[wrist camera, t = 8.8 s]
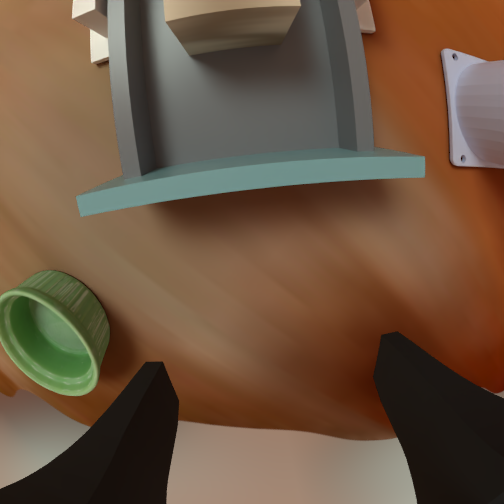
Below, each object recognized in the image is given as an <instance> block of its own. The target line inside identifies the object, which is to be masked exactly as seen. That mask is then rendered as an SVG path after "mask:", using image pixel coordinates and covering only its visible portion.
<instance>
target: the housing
mask: <svg viewBox="0 0 504 504" xmlns="http://www.w3.org/2000/svg"><path fill="white" fill-rule="evenodd" d="M354 2H355V6H356V11H357V15H358V20H359V25H360V30H361V32H362V33H371V34H372V33H373V32H375V31H376V30H375V25H374V20H373V16H372V11H371V7H370V3H369V0H354ZM72 19H74V20H75V21H77V22H79V23H81V24H83V25H84V26H86V27H88V28H90V42H91V63H93V64H98V63H101V62H104V61H107V60H109V51H108V0H73V11H72Z"/></svg>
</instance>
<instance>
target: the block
mask: <svg viewBox="0 0 504 504" xmlns="http://www.w3.org/2000/svg"><path fill="white" fill-rule="evenodd" d="M163 2H164V15H165V22H166V24H167V25H168V26H169V28H170V29H171V31H172V32H173V33H174V35H175V36H176V38H177V39H178V40H179V42H180V43H181V45H182V46H183V48H184V49H185V50H186V52H187V53H188V55H189V56H191V55H196V54H202V53H207V52H214V51H220V50H227V49H235V48H244V47H254V46H266V45H281V44H282V42H283V40H284V38H285V36H286V34H287V32H288V30H289V28H290V26H291V24H292V22H293V20H294V18H295V16H296V14H297V13H298V11H299V9H300V7H301V4H300V0H163Z"/></svg>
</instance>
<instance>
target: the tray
mask: <svg viewBox="0 0 504 504" xmlns="http://www.w3.org/2000/svg"><path fill="white" fill-rule="evenodd" d="M300 4H301V7H300V9H299V11H298V13H297V14H296V16H295V18H294V20H293V22H292V24H291V26H290V28H289V30H288V32H287V34H286V36H285V38H284V40H283V42H282V44H281V45H266V46H254V47H244V48H235V49H227V50H220V51H214V52H207V53H202V54H196V55H191V56H189V55H188V53H187V52H186V50H185V49H184V48H183V46H182V45H181V43H180V42H179V40H178V39H177V38H176V36H175V35H174V33H173V32H172V31H171V29H170V28H169V26H168V25H167V24H166V22H165V15H164V2H163V0H108V51H109V68H110V81H111V92H112V102H113V111H114V119H115V127H116V134H117V141H118V147H119V154H120V160H121V166H122V171H123V175H122V176H120V177H117V178H115V179H113V180H110V181H108V182H106V183H104V184H101V185H99V186H97V187H95V188H93V189H90V190H88V191H86V192H84V193H82V194H80V195H78V196H76V199H77V203H78V208H79V212H80V216H81V217H83V216H87V215H92V214H97V213H102V212H107V211H113V210H118V209H123V208H129V207H134V206H140V205H146V204H151V203H157V202H164V201H170V200H176V199H183V198H189V197H196V196H203V195H211V194H218V193H226V192H233V191H242V190H250V189H259V188H268V187H278V186H288V185H298V184H310V183H322V182H335V181H350V180H368V179H389V178H420V177H425V157H424V156H419V155H415V154H410V153H405V152H400V151H395V150H389V149H384V148H378V147H374V136H373V122H372V110H371V99H370V90H369V82H368V74H367V67H366V60H365V53H364V47H363V41H362V36H361V30H360V25H359V20H358V15H357V11H356V6H355V2H354V0H300Z"/></svg>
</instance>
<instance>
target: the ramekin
mask: <svg viewBox="0 0 504 504" xmlns="http://www.w3.org/2000/svg"><path fill="white" fill-rule="evenodd" d="M109 338H110V327H109V323H108V319H107V316H106V314H105V311H104V309H103V308H102V306H101V304H100V302H99V301H98V300H97V298H96V297H95V296H94V294H93V293H92V292H91V291H90V290H89V289H88V288H87V287H86V286H85V285H84V284H82V283H81V282H80V281H78V280H77V279H75V278H73V277H72V276H70V275H68V274H65V273H63V272H59V271H53V270H47V271H41V272H39V273H36V274H34V275H33V276H31V277H30V278H28V279H27V280H26V281H24V282H23V283H22V284H20V285H19V286H18V287H16V288H13V289H11V290H8V291H7V292H5V293H4V294H2V295H1V296H0V341H1V343H2V345H3V347H4V349H5V351H6V352H7V354H8V355H9V356H10V358H11V359H12V361H13V362H14V363H15V364H16V365H17V366H18V367H19V368H20V369H21V370H22V371H23V372H24V373H25V374H26V375H27V376H28V377H30V378H31V379H32V380H34V381H35V382H37V383H38V384H40V385H41V386H43V387H45V388H47V389H49V390H51V391H53V392H56V393H59V394H63V395H69V396H81V395H84V394H87V393H89V392H91V391H92V390H93V389H94V388H95V386H96V385H97V382H98V379H99V375H100V365H101V363H102V360H103V357H104V354H105V352H106V349H107V346H108V343H109Z"/></svg>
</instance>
